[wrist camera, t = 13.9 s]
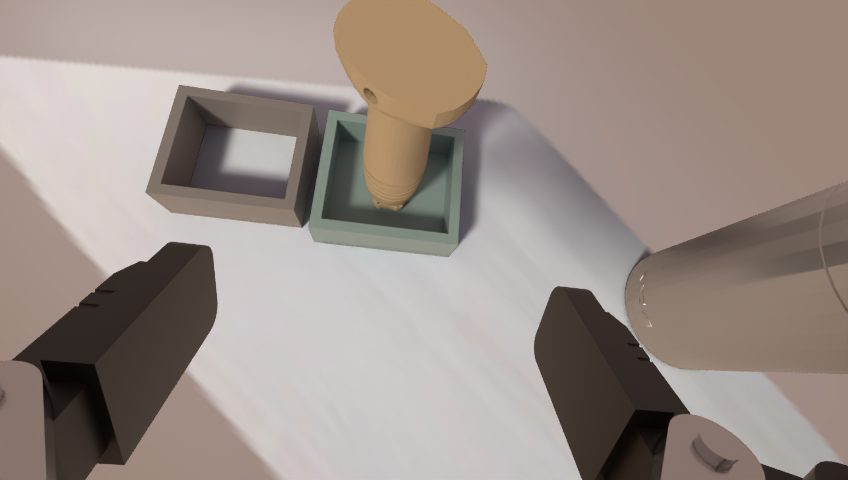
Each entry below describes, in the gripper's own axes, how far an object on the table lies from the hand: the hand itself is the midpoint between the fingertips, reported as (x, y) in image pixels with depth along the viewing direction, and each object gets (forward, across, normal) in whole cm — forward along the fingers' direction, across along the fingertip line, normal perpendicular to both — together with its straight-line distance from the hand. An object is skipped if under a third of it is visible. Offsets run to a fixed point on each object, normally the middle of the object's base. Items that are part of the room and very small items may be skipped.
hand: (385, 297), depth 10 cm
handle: (+21, 0, +6) cm, 22 cm away
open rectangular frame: (+22, +10, +5) cm, 25 cm away
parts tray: (+21, 0, +6) cm, 22 cm away
